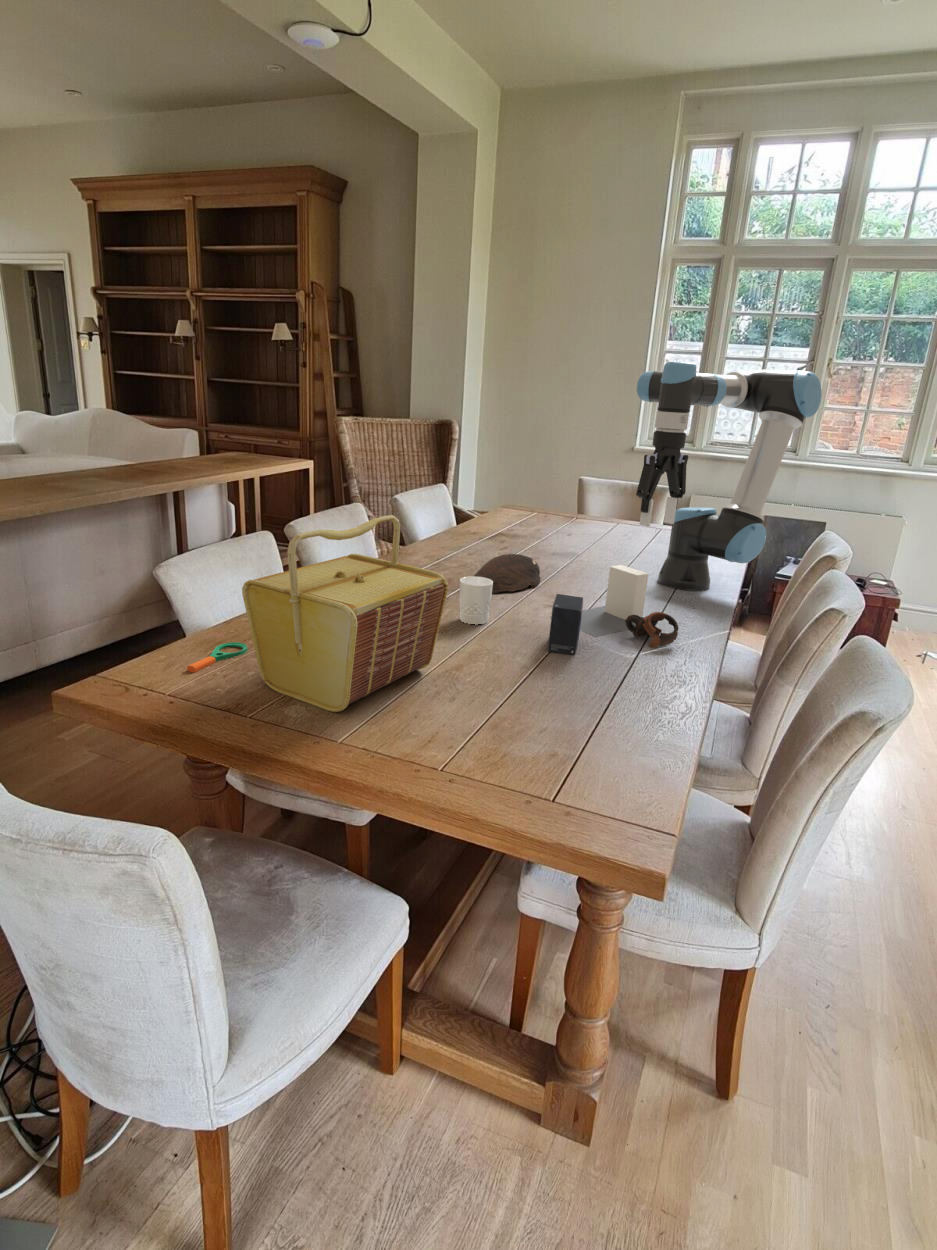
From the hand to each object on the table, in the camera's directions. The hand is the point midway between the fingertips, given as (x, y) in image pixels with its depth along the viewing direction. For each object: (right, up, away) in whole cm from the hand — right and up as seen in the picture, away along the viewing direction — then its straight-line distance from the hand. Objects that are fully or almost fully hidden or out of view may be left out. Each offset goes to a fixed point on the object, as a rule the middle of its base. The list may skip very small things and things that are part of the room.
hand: (656, 524), depth 177 cm
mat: (-13, -24, -1) cm, 28 cm away
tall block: (-8, -23, +3) cm, 24 cm away
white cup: (-46, -24, -6) cm, 52 cm away
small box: (-26, -30, -19) cm, 44 cm away
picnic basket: (-70, -36, -43) cm, 89 cm away
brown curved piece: (-5, -29, -13) cm, 32 cm away
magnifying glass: (-97, -32, -37) cm, 108 cm away
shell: (-36, -12, +31) cm, 49 cm away
